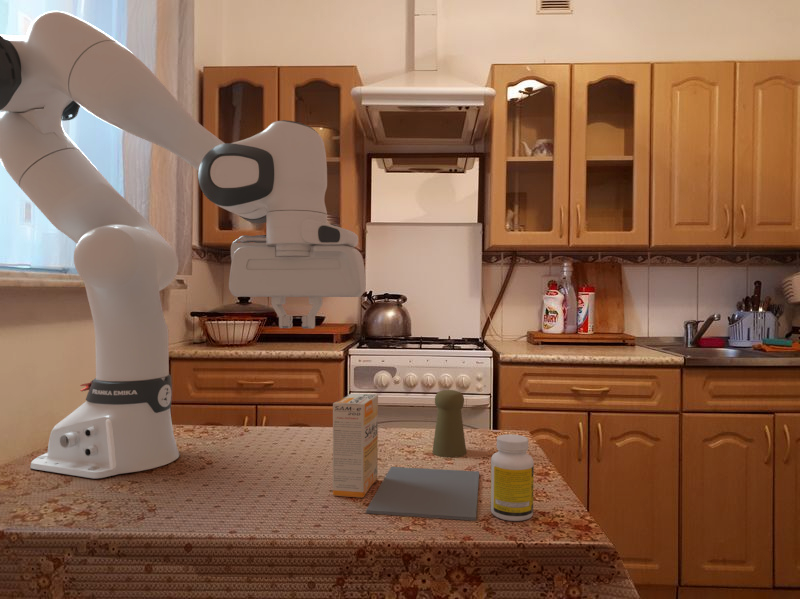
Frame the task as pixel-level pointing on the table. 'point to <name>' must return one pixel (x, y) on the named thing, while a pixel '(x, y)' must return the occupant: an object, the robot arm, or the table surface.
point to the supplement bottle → (512, 479)
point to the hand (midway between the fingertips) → (297, 328)
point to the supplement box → (355, 444)
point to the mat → (427, 493)
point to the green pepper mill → (449, 425)
